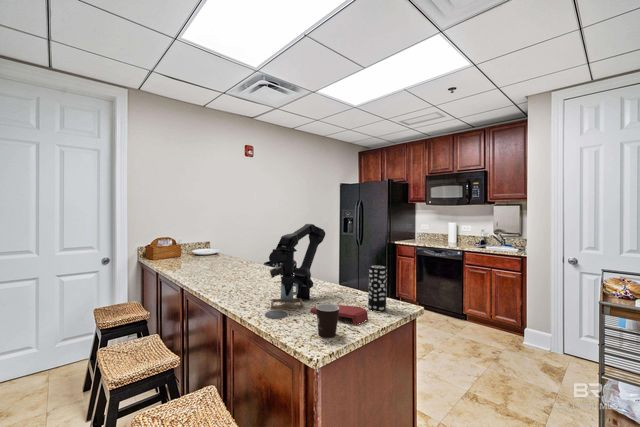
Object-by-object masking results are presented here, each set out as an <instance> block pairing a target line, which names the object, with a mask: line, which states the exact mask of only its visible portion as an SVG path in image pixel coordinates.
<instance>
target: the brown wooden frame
mask: <svg viewBox="0 0 640 427" xmlns="http://www.w3.org/2000/svg"><path fill="white" fill-rule="evenodd" d="M270 301H271V302H270V303H271V304H270V309H271V310H280V309H281V310H282V309H283V310H285V309H290V310H291V309H304V303H303V300H302V299H301V298H297V297H295V298H294V297H293V299H291V300H283V299H281V298H271V300H270ZM278 302H281V303H283V302H299V303H300V304H294V305H293V304H292V305H291V304H290V305H285V304H284V305H274V303H278Z"/></svg>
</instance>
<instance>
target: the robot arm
mask: <svg viewBox="0 0 640 427" xmlns="http://www.w3.org/2000/svg"><path fill="white" fill-rule="evenodd" d="M307 235H308V240H309V243H308V246H307V249H306V251H305V254H304V257H303V260H302V263H301V265H300V267H296V268H295V269H294V267H295V264H294V262H295V261H294V260H295V258H294V257H295V252H297V251H298V250H297V249H296V248H295V247H297V245H299V241H300V240H302V239H303V238H304V237H306V236H307ZM325 237H326V231H325V230H324V228H322V227H318V226H316V225H315V224H312V223H305V224H304V225H303V226H302V227H300V228H298V229H297V230H295V231H294V232H292V233H287V234H284V235H283V234H282V236H281V237H280V239H279V241H278V244H277V245H276V247H275V248H273V249H272V252H270V253H269V255H268V259H269V263H271V264H272V265H277V264H280V266H277V267H274V268H272V269H269V273H270V276H271V278H272V279H273V278H275V277H278V276H280V284H281V283H282V284H283V285H284V286H285V292H286V296H288V295H289V293H290V291H291V289H292V286H293V284H298V294H297V295H295V298H301V299H302V301H304V300H305V301H307V300H309V301H310V300H311V288H313V287H314V281H313V280H312V273H311V272H312V271H311V267H312V265H313V262H314V259H315V256H316V253H317V250H318V247H319V245H320V244H321V243H322V242H324V239H325ZM294 270H295V271H294Z"/></svg>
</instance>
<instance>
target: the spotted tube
mask: <svg viewBox="0 0 640 427" xmlns="http://www.w3.org/2000/svg"><path fill="white" fill-rule="evenodd" d="M387 284H388V267H387V266H385V265H376V264H375V265H373V264H372V265H369V266H368V297H367V299H368V303H367V310H369V311H370V310H372V311H371V312H373V311H384V312H386V311H387V292H388V290H387ZM385 310H386V311H385Z"/></svg>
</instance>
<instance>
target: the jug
mask: <svg viewBox="0 0 640 427" xmlns="http://www.w3.org/2000/svg"><path fill="white" fill-rule="evenodd" d="M294 287H295V291H294ZM297 294H298V284H293V286H292V289H291V291H290V293H289V295H288V296H286V292H285V286H284V285H283V284H282V283H281V282H280V299H283V300H291V299H293V298H294V296H296V295H297Z"/></svg>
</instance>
